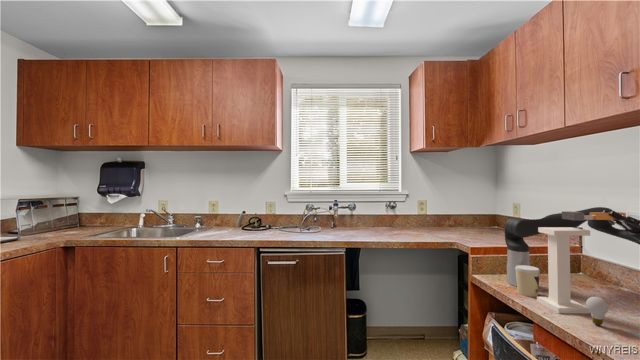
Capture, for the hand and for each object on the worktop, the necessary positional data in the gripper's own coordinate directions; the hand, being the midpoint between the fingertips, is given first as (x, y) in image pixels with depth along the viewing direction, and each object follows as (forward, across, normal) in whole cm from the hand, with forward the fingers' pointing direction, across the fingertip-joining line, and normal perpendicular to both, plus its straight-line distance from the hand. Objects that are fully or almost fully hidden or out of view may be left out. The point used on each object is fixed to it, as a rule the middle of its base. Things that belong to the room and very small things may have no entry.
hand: (607, 212), depth 123 cm
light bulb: (-3, +16, +43) cm, 46 cm away
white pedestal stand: (-4, 0, +42) cm, 43 cm away
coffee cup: (+1, -15, +45) cm, 48 cm away
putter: (+3, 0, +5) cm, 6 cm away
